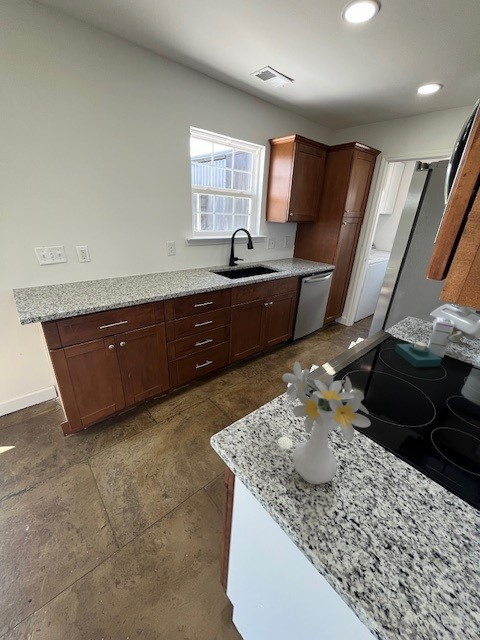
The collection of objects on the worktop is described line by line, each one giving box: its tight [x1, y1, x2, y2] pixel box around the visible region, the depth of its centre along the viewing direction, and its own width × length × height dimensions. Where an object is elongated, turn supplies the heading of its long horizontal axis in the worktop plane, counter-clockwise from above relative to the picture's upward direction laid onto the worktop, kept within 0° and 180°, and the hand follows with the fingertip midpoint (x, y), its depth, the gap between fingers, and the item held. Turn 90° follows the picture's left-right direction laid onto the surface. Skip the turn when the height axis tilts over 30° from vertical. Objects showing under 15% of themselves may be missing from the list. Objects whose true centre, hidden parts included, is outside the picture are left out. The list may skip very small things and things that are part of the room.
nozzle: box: [414, 341, 427, 350], centre depth 103 cm, size 4×4×2 cm
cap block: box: [394, 342, 443, 368], centre depth 104 cm, size 12×10×5 cm
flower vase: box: [281, 361, 371, 485], centre depth 54 cm, size 13×18×25 cm
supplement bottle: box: [449, 330, 462, 343], centre depth 119 cm, size 5×5×10 cm
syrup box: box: [426, 317, 454, 358], centre depth 106 cm, size 6×6×14 cm
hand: (439, 334), depth 105 cm, fingers closed on syrup box, 7 cm apart
